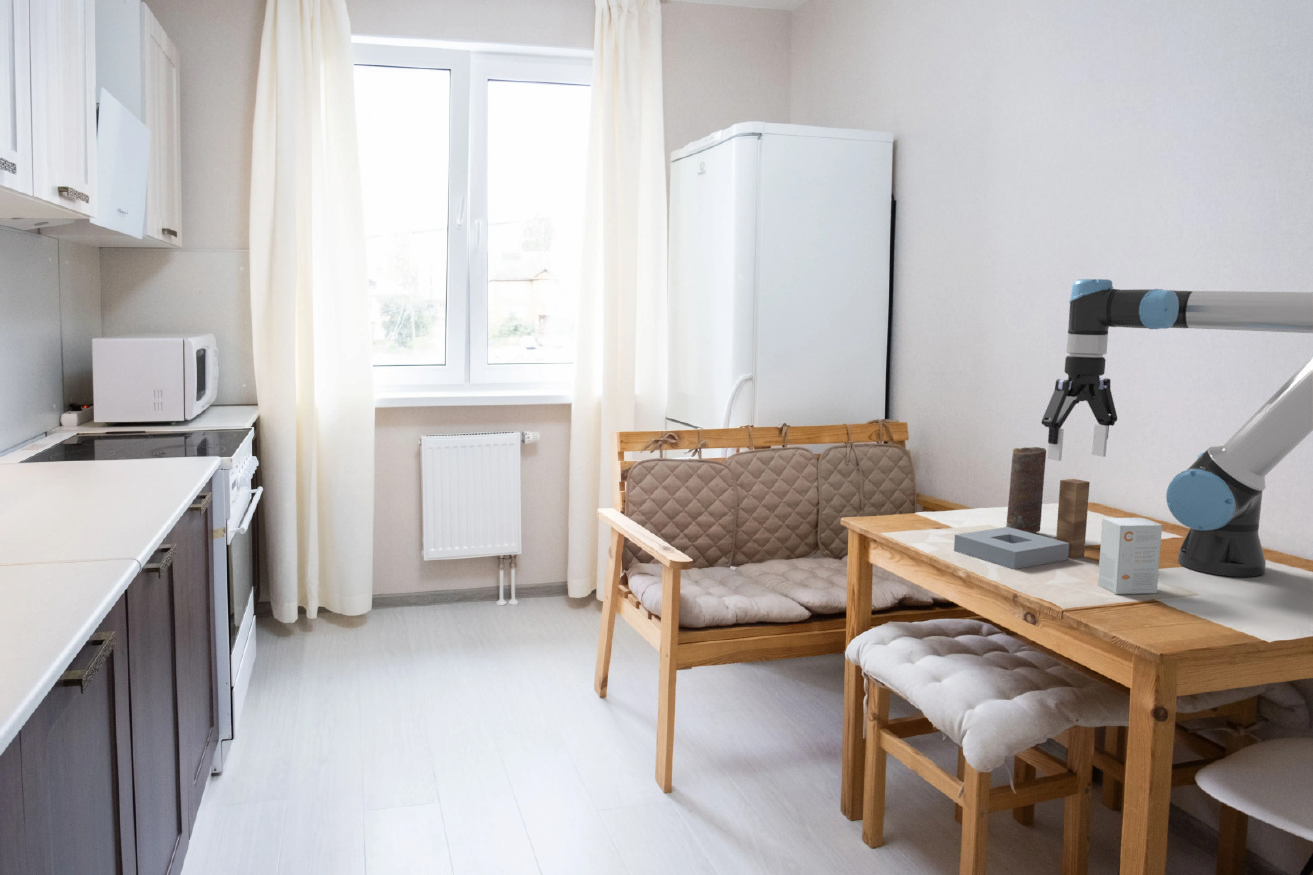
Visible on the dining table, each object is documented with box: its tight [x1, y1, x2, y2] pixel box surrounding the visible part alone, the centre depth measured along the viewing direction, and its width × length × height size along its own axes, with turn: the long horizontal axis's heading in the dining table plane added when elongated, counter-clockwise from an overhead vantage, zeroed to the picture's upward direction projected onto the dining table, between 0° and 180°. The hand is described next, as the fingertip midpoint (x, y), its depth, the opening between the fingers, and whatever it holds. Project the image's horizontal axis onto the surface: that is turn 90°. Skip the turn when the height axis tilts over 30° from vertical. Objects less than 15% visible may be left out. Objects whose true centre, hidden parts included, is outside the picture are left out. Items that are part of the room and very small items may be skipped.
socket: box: [953, 526, 1069, 570], centre depth 198 cm, size 16×16×4 cm
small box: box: [1097, 517, 1163, 595], centre depth 174 cm, size 8×6×13 cm
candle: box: [1005, 446, 1047, 534], centre depth 216 cm, size 8×7×20 cm
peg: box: [1055, 478, 1091, 560], centre depth 198 cm, size 4×4×16 cm
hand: (1076, 457), depth 196 cm, fingers open, 13 cm apart
